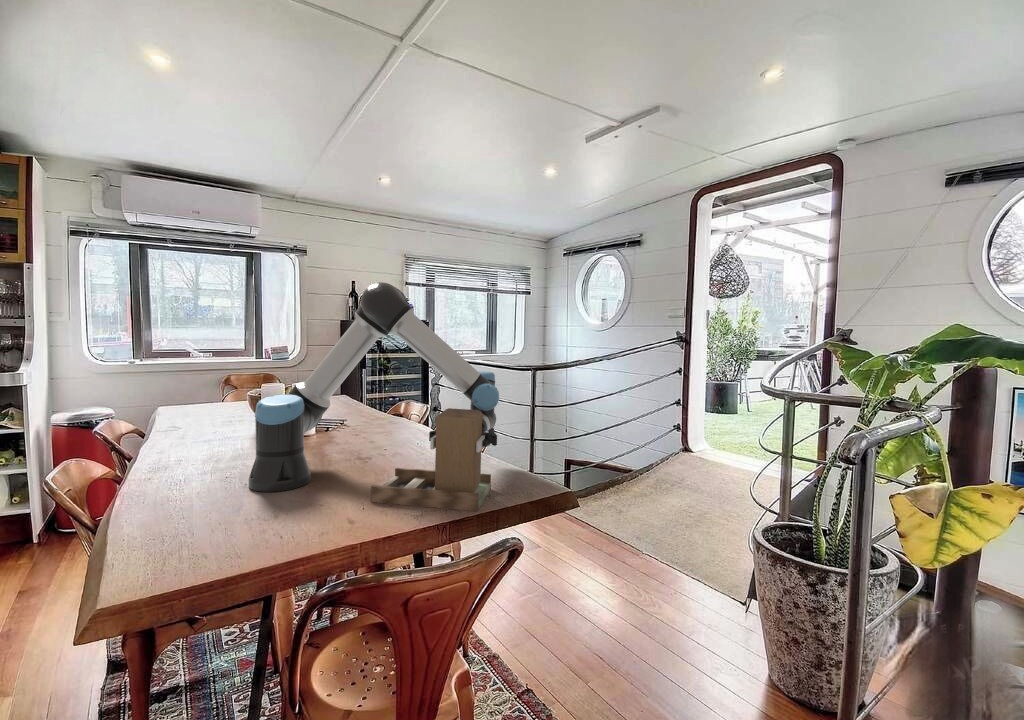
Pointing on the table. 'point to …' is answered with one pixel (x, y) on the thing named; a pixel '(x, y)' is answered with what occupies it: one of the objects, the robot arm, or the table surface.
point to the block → (458, 450)
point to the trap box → (427, 491)
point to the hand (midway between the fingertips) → (454, 445)
